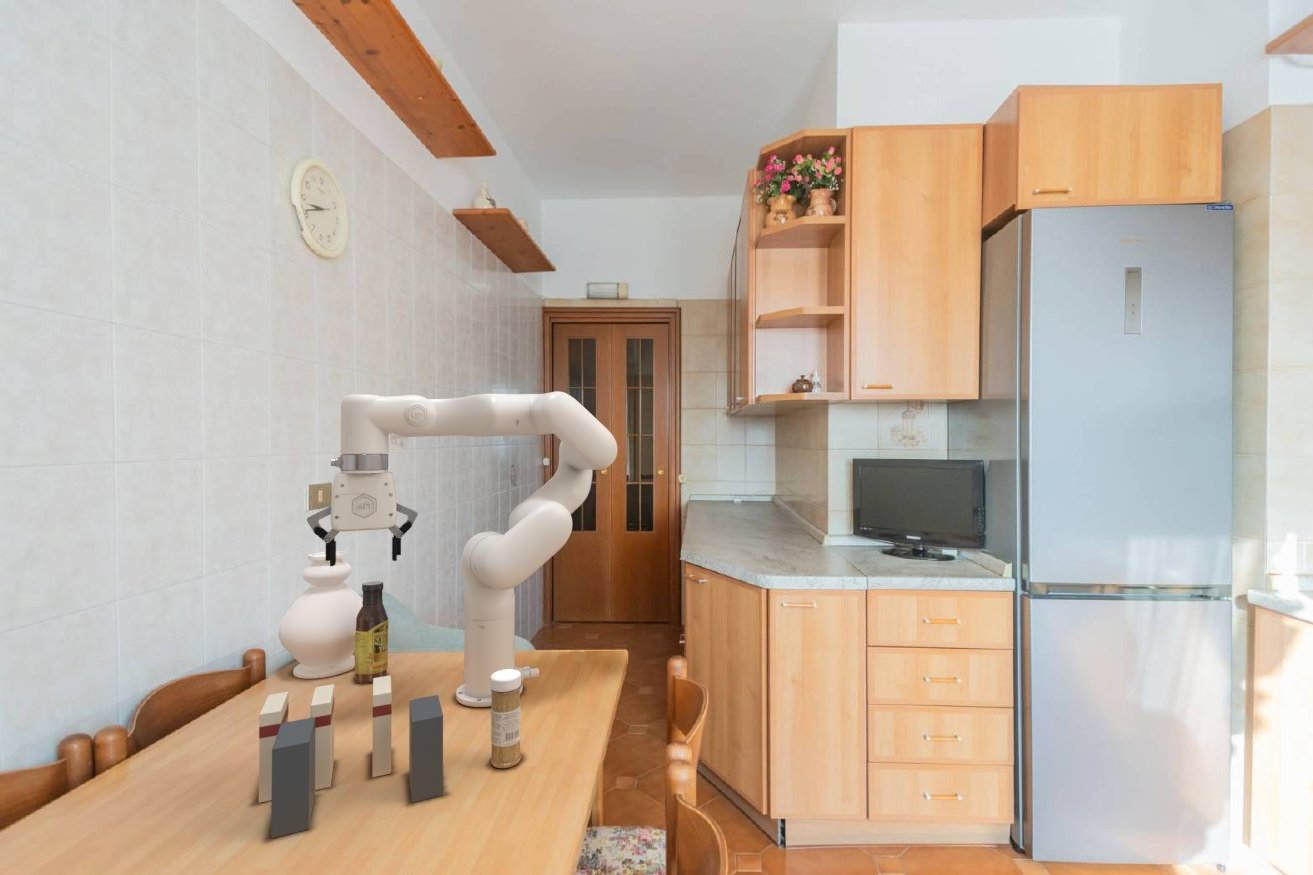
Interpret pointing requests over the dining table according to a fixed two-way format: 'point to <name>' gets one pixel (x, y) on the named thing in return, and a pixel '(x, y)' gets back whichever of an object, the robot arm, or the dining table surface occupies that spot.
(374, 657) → the sauce bottle
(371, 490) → the robot arm
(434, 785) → the grey book
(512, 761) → the sprinkles bottle
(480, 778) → the dining table surface
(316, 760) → the ivory book
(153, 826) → the dining table surface
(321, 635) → the decorative vase
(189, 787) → the dining table surface
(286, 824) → the grey book
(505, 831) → the dining table surface
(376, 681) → the ivory book
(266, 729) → the ivory book
